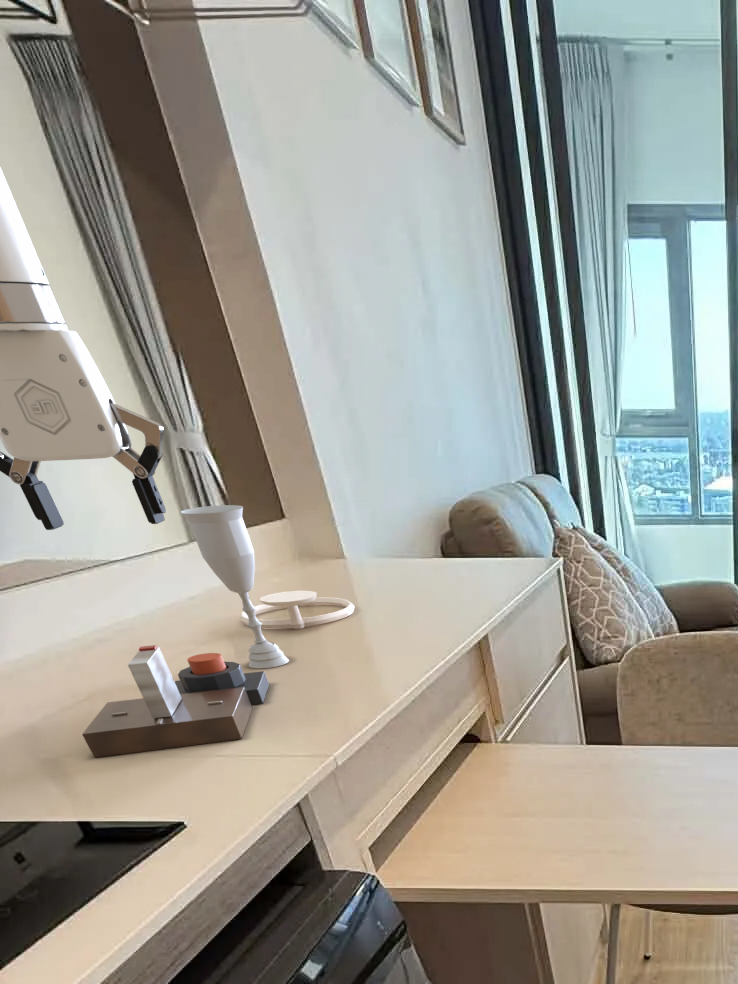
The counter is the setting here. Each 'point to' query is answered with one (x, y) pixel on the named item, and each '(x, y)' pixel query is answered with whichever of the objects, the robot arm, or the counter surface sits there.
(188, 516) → the chalice
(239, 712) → the block
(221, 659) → the button
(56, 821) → the counter surface
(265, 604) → the hand towel holder
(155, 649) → the grey metal plate
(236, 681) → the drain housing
